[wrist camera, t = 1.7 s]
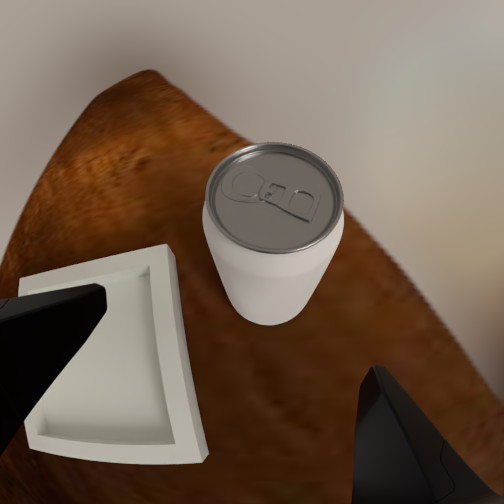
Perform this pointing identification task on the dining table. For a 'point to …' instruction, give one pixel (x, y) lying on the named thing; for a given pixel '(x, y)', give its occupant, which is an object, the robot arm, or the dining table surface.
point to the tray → (123, 369)
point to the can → (272, 227)
